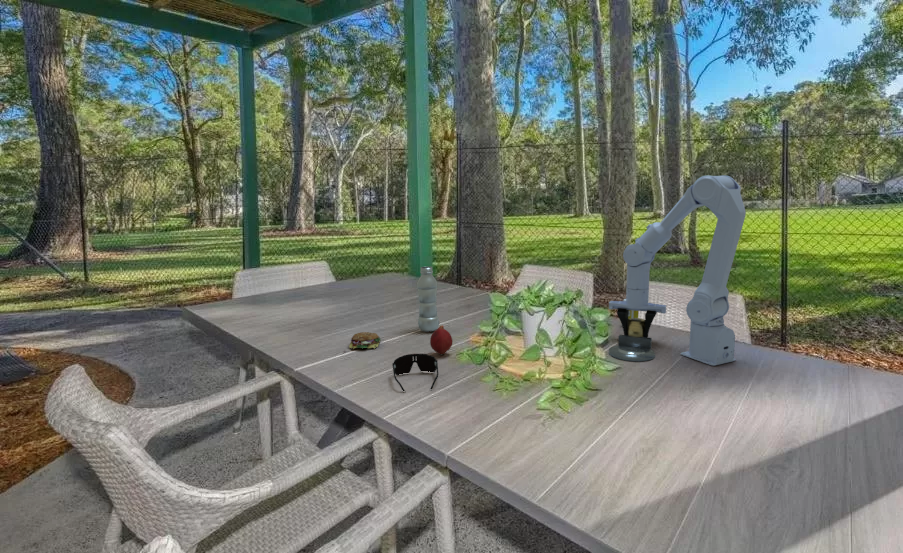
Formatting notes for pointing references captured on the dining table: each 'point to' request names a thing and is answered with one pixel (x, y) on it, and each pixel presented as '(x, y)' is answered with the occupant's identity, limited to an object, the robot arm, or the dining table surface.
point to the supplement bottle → (632, 313)
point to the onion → (441, 340)
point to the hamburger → (365, 340)
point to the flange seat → (633, 349)
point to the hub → (636, 327)
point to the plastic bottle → (427, 300)
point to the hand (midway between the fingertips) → (636, 336)
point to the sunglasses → (423, 362)
